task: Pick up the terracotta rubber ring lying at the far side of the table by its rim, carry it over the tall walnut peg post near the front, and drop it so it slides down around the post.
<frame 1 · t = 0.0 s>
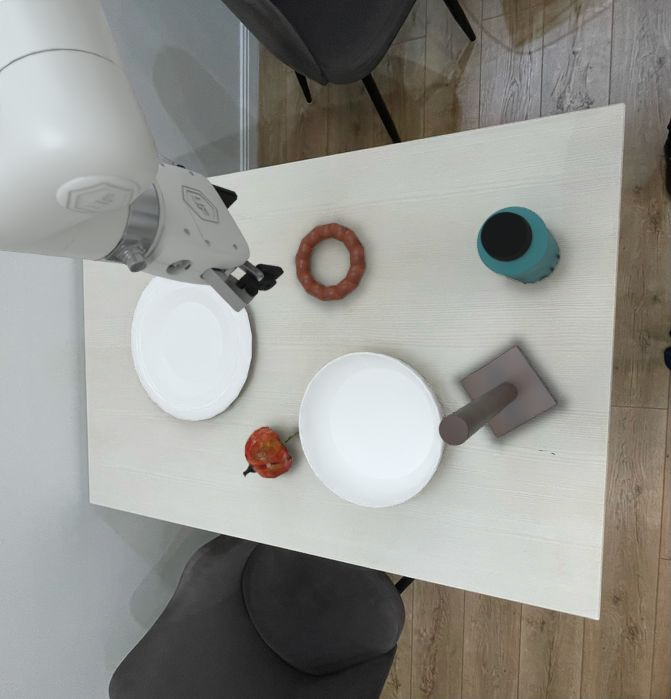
hand: (250, 241, 56), 21 cm above the table, tool pointing down, fingers open, 9 cm apart
peg post: (508, 391, 65), on the table
beverage bottle: (533, 257, 63), on the table
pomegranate: (284, 446, 80), on the table
ring: (329, 262, 73), point 1 cm above the table
plate: (195, 341, 87), on the table
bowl: (384, 421, 72), on the table
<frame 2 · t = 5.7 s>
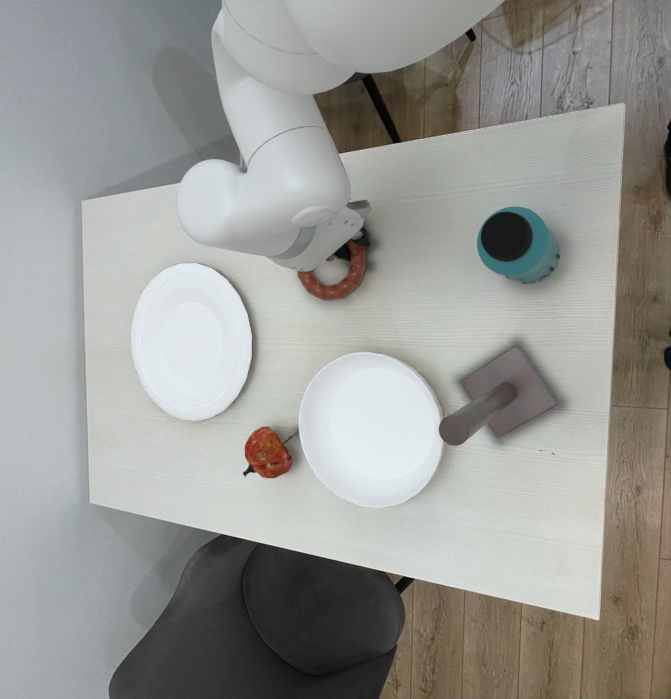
hand: (354, 243, 72), 0 cm above the table, tool pointing down, fingers closed on ring, 2 cm apart
ring: (330, 261, 73), point 1 cm above the table, touching gripper
everything else where it was.
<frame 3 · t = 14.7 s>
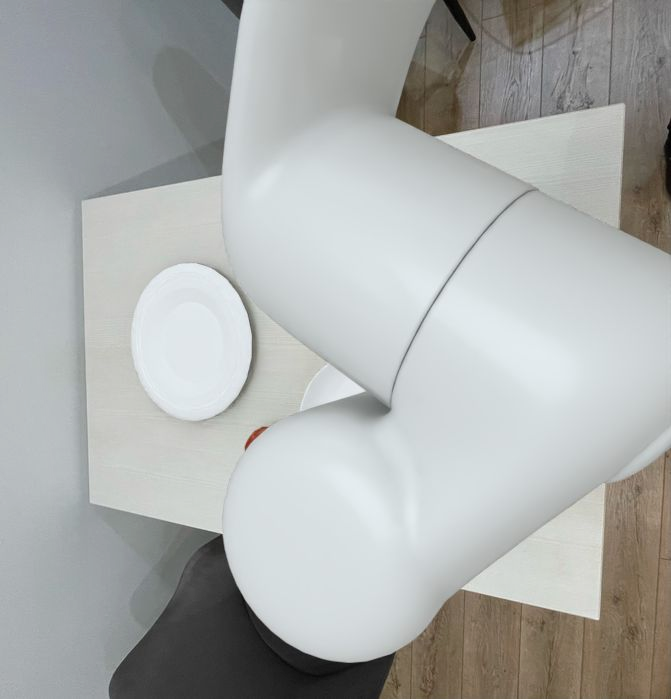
hand: (504, 398, 42), 23 cm above the table, tool pointing down, fingers closed on ring
ring: (459, 426, 43), point 24 cm above the table, touching gripper
everything else where it was.
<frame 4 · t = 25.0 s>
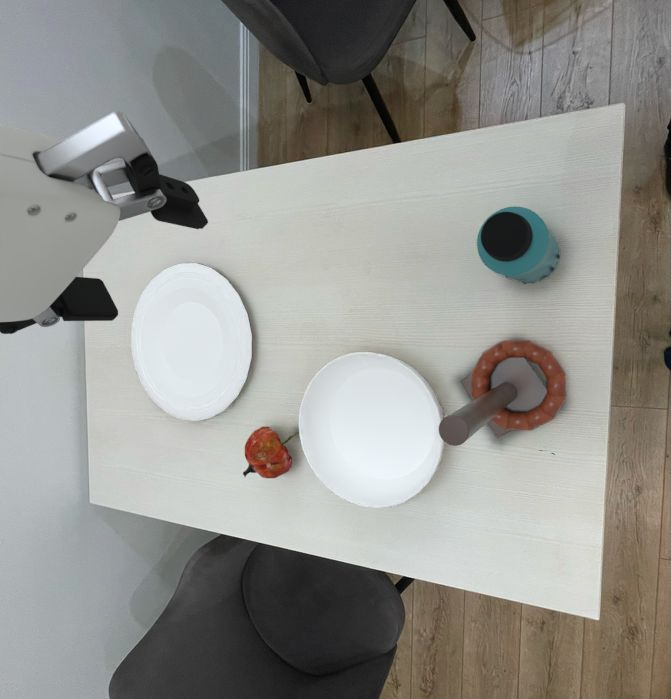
hand: (149, 255, 35), 40 cm above the table, tool pointing down, fingers open, 9 cm apart
ring: (517, 385, 62), point 2 cm above the table, touching peg post
everything else where it was.
at the end: ring 1.7 cm from the peg post (horizontally); ring point 2.2 cm above the table; the gripper is holding nothing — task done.
